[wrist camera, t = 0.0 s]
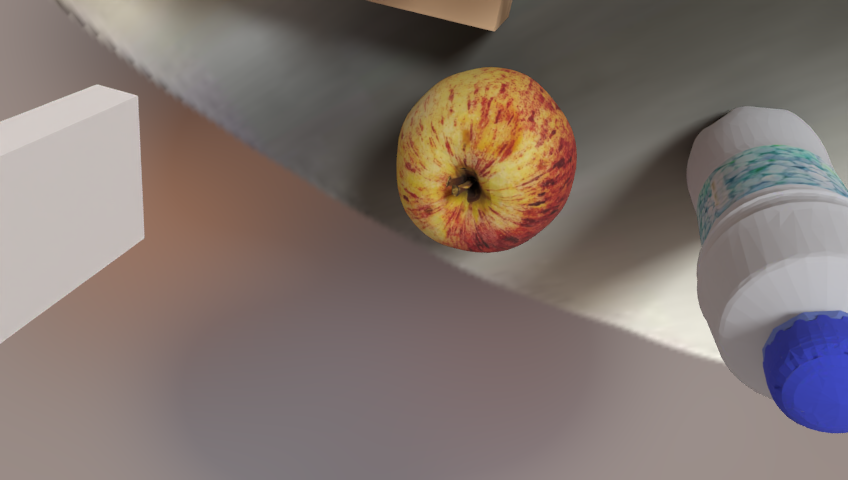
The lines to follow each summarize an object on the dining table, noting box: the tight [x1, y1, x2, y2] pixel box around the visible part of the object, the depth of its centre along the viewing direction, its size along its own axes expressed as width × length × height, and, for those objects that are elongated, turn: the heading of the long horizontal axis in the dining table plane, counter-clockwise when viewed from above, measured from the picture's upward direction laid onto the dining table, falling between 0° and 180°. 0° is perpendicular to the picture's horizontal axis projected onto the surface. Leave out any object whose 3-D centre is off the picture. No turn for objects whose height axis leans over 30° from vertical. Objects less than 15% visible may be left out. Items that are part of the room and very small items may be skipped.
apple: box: [397, 67, 577, 253], centre depth 35 cm, size 9×9×10 cm
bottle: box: [687, 106, 848, 433], centre depth 27 cm, size 7×7×20 cm
